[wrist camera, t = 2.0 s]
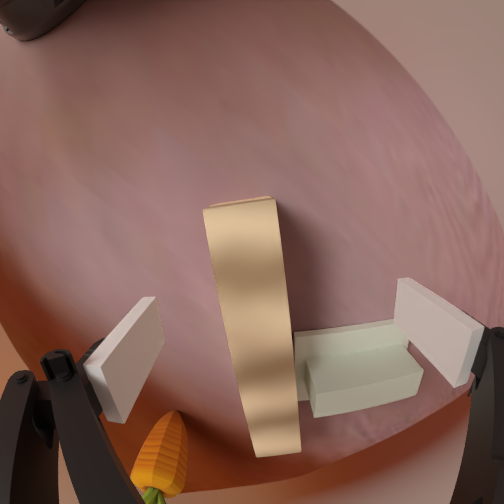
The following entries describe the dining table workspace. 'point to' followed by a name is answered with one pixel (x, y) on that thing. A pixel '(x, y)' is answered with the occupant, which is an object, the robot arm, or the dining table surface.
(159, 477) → the carrot
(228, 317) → the birch bar
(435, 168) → the dining table surface
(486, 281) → the dining table surface
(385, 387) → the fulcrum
